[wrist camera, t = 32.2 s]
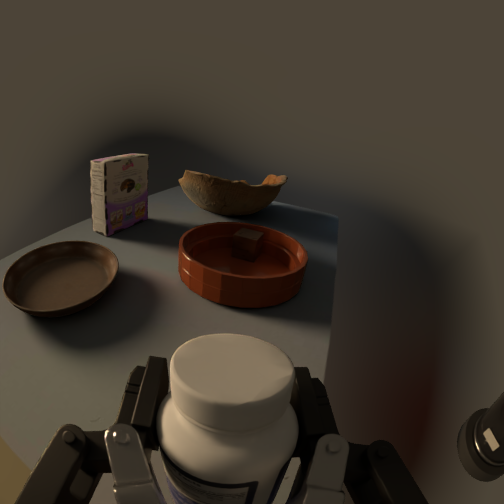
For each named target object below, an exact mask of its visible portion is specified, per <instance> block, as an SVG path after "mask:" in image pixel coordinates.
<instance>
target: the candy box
mask: <svg viewBox="0 0 504 504" xmlns="http://www.w3.org/2000/svg"><path fill="white" fill-rule="evenodd" d="M148 161H149V155H146V154H136V153H133V154H126V155H120V156H113V157H108V158H102V159H96V160H92V161H90V182H91V209H92V224H93V231H95V232H97V233H100V234H102V235H104V236H106V237H107V236H110V235H112V234H114V233H116V232H119V231H121V230H123V229H125V228H128V227H130V226H132V225H135V224H137V223H139V222H142V221H144V220H146V219H148V198H147V197H148Z"/></svg>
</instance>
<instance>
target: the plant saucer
mask: <svg viewBox="0 0 504 504" xmlns="http://www.w3.org/2000/svg"><path fill="white" fill-rule="evenodd" d="M118 267H119V263H118V259H117V257H116V256H115V254H114V253H113V252H112V251H111V250H110V249H108V248H106V247H104V246H102V245H100V244H97V243H93V242H87V241H63V242H56V243H52V244H48V245H44V246H41V247H39V248H36V249H34V250H32V251H30V252H28V253H26V254H25V255H23V256H21V257H20V258H19V259H18V260H16V261H15V262H14V263H13V264H12V265H11V266H10V268H9V269H8V270H7V272H6V274H5V276H4V279H3V284H2V287H3V292H4V295H5V297H6V298H7V299H8V301H9V302H11V303H12V304H13V305H14V306H15V307H17V308H18V309H20V310H22V311H23V312H26V313H28V314H31V315H35V316H39V317H61V316H66V315H70V314H73V313H76V312H78V311H81V310H83V309H85V308H87V307H88V306H90V305H92V304H93V303H94V302H96V301H97V300H98V299H99V298H100V297H101V296H103V294H104V293H105V292H106V291H107V290H108V289H109V287H110V286H111V284H112V283H113V281H114V279H115V277H116V275H117V272H118Z"/></svg>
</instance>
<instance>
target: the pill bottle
mask: <svg viewBox="0 0 504 504" xmlns="http://www.w3.org/2000/svg"><path fill="white" fill-rule="evenodd" d="M294 378H295V370H294V366H293V363H292V361H291V360H290V358H289V357H288V356H287V355H286V354H285V353H284V352H283V351H282V350H281V349H279V348H278V347H276V346H274V345H272V344H270V343H268V342H266V341H263V340H261V339H258V338H255V337H250V336H246V335H239V334H211V335H205V336H200V337H197V338H194V339H192V340H189V341H187V342H186V343H184V344H183V345H181V346H180V347H179V348H178V349H177V350H176V351H175V353H174V354H173V356H172V359H171V363H170V382H171V391H170V392H169V393H168V394H167V395H166V396H165V398H164V399H163V401H162V402H161V404H160V406H159V409H158V412H157V416H156V429H157V436H158V442H159V446H160V451H161V456H162V461H163V465H164V469H165V473H166V477H167V482H168V485H169V490H170V493H171V497H172V499H173V502H174V504H272V503H273V501H274V499H275V496H276V494H277V492H278V489H279V487H280V485H281V483H282V480H283V478H284V475H285V473H286V470H287V468H288V466H289V463H290V461H291V458H292V456H293V453H294V450H295V448H296V444H297V440H298V435H299V424H298V419H297V416H296V413H295V411H294V409H293V407H292V406H291V404H290V403H289V402H290V399H291V392H292V388H293V383H294Z"/></svg>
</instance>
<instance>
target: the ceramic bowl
mask: <svg viewBox="0 0 504 504" xmlns="http://www.w3.org/2000/svg"><path fill="white" fill-rule="evenodd" d="M287 179H288V178H287V177H286V176H285V175H282V176H276V175H268V176H267V178H266V179H265V180H264V182H263V183H262V185H252V186H251V185H250V184H248V183H247V182H246V181H245V180H241V181H230V180H228V179H223V178H220V177H216V176H212V175H208V174H203V173H199V172H194V171H190V170H185V174H184V177H183V178H182V179H179V182H180V185H181V187H182V189H183V190H184V192H185V193H186V195H187V196H188V197H189V199H190V200H191V201H193V202H194V203H195V204H196V205H198V206H199V207H200V208H202V209H204V210H207V211H210V212H213V213H217V214H221V215H229V216H231V215H233V216H236V215H249V214H253V213H255V212H258V211H260V210H262V209H263V208H265V207H267V206H268V205H269V204H270V203H271V202H272V201H273V200H274V199H275V198H276V197H277V195H278V193H279V191H280V188H281V186H282V185H284V184H285V183H286V182H287V181H286V180H287Z"/></svg>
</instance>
